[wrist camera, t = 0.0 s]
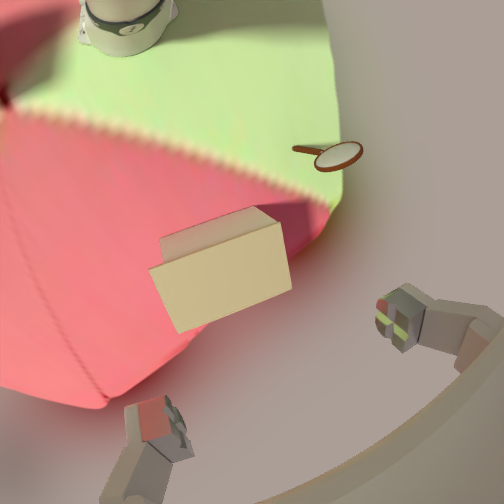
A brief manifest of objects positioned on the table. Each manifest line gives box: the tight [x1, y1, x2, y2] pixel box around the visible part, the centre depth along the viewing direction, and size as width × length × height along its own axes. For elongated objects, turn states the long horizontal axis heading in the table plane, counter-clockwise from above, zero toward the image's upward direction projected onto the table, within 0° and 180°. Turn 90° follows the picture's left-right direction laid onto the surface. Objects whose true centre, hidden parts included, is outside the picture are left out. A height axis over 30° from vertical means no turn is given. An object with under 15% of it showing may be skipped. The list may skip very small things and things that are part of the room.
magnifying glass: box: [292, 141, 363, 172], centre depth 49 cm, size 9×2×20 cm, turn 122°
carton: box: [159, 206, 277, 263], centre depth 55 cm, size 13×20×12 cm, turn 102°
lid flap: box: [149, 222, 292, 334], centre depth 49 cm, size 14×22×1 cm, turn 103°
